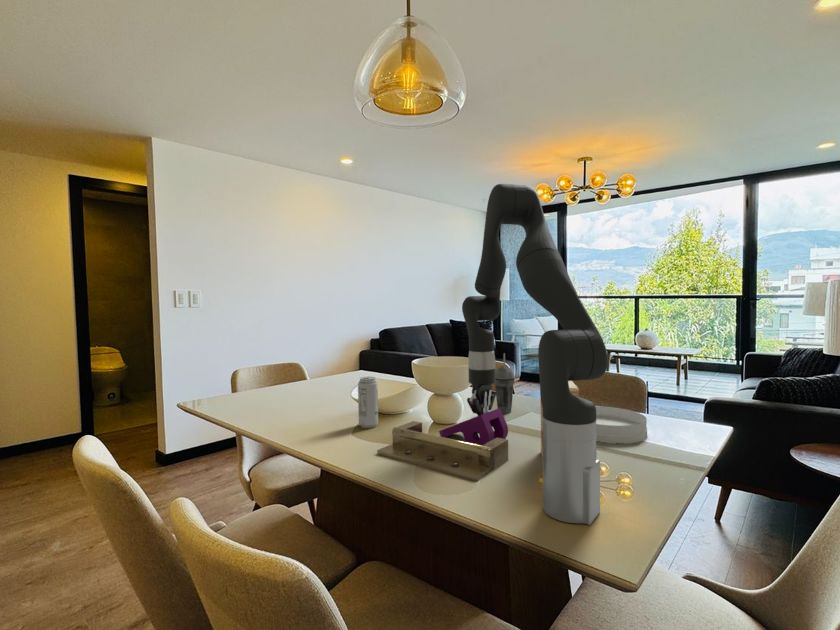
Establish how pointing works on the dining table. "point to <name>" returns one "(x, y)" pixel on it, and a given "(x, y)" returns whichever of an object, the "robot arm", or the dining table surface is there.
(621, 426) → the dish
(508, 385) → the beverage cup
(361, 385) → the energy drink can
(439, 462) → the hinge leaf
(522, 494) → the dining table surface
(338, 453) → the dining table surface
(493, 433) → the mounting bracket
